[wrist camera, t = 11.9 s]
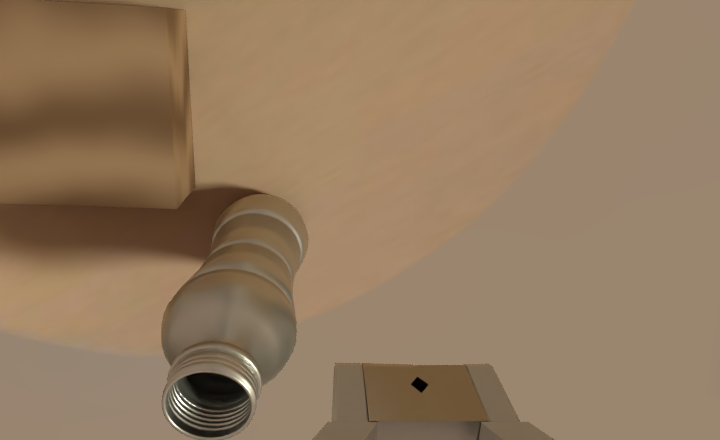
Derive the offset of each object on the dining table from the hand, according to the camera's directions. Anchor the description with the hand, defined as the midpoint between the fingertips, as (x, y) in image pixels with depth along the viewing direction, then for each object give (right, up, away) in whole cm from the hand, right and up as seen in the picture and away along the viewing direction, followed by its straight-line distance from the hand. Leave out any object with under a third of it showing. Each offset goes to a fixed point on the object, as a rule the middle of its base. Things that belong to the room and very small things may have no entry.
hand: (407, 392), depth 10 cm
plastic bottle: (-8, +3, +30) cm, 31 cm away
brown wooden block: (-18, +12, +26) cm, 33 cm away
